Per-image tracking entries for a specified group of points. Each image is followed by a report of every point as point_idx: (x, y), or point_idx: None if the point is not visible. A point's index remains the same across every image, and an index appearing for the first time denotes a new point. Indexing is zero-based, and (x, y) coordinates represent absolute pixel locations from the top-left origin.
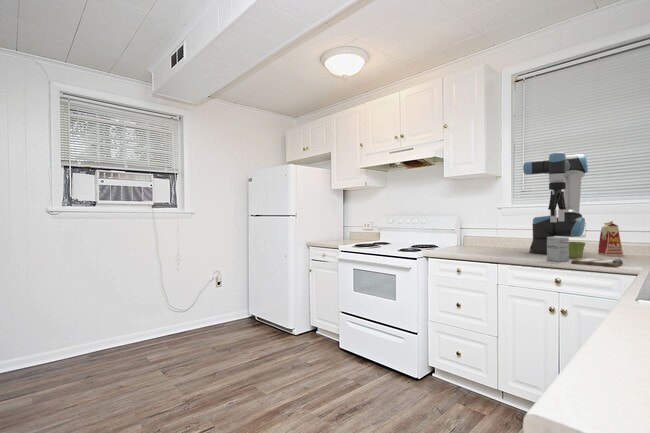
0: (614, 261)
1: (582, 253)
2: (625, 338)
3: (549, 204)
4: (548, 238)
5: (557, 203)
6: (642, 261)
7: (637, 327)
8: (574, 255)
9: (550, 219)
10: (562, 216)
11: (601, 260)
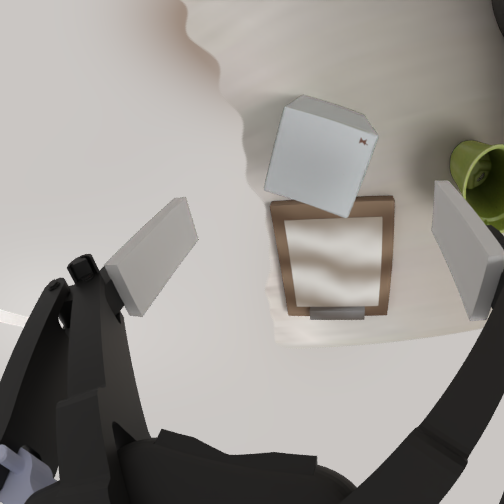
0: (310, 312)
1: (472, 198)
2: (12, 320)
3: (36, 310)
4: (282, 117)
5: (471, 352)
6: (465, 328)
7: (24, 325)
8: (451, 169)
9: (162, 210)
10: (448, 247)
11: (346, 277)
